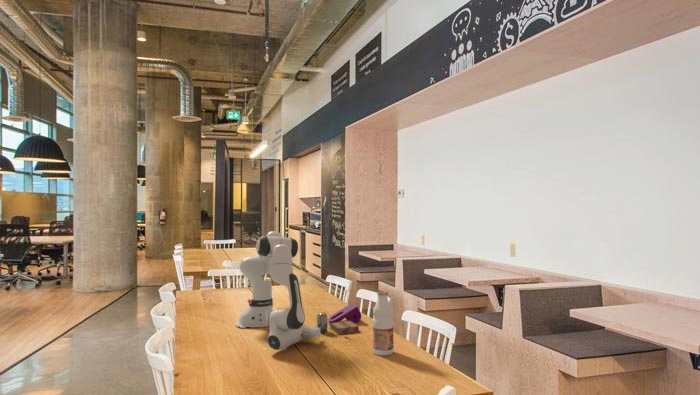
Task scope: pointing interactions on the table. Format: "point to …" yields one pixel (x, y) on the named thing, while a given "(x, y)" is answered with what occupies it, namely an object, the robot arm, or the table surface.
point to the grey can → (322, 322)
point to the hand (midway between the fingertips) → (309, 326)
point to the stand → (344, 327)
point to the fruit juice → (383, 326)
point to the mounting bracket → (346, 314)
